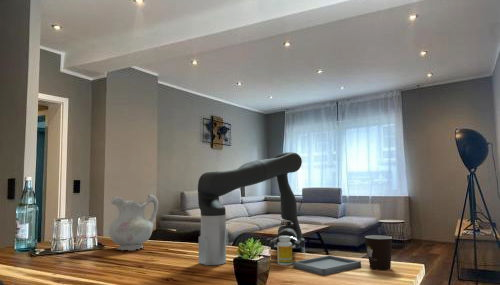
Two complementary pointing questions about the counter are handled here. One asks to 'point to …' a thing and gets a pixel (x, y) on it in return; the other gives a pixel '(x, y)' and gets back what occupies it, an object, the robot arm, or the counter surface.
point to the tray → (326, 264)
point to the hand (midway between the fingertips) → (284, 245)
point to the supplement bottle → (284, 251)
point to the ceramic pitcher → (132, 223)
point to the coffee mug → (379, 251)
